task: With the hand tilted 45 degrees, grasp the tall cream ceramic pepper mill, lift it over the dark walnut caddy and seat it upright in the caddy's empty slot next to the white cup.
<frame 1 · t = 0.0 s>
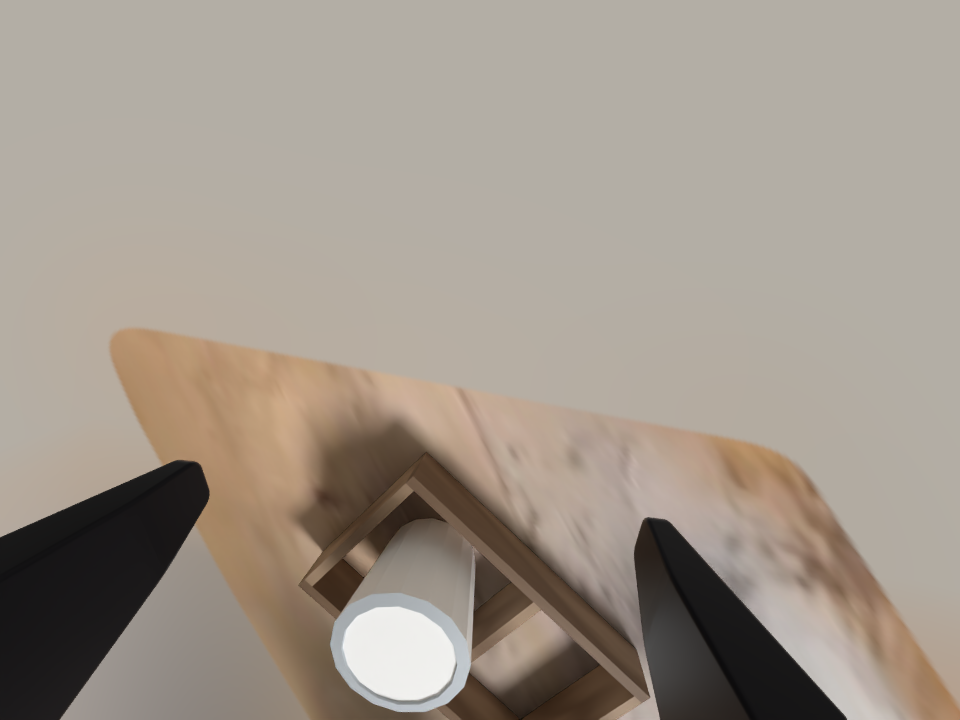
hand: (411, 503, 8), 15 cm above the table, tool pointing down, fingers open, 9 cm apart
white cup: (432, 556, 27), resting in walnut caddy
walnut caddy: (476, 600, 27), on the table
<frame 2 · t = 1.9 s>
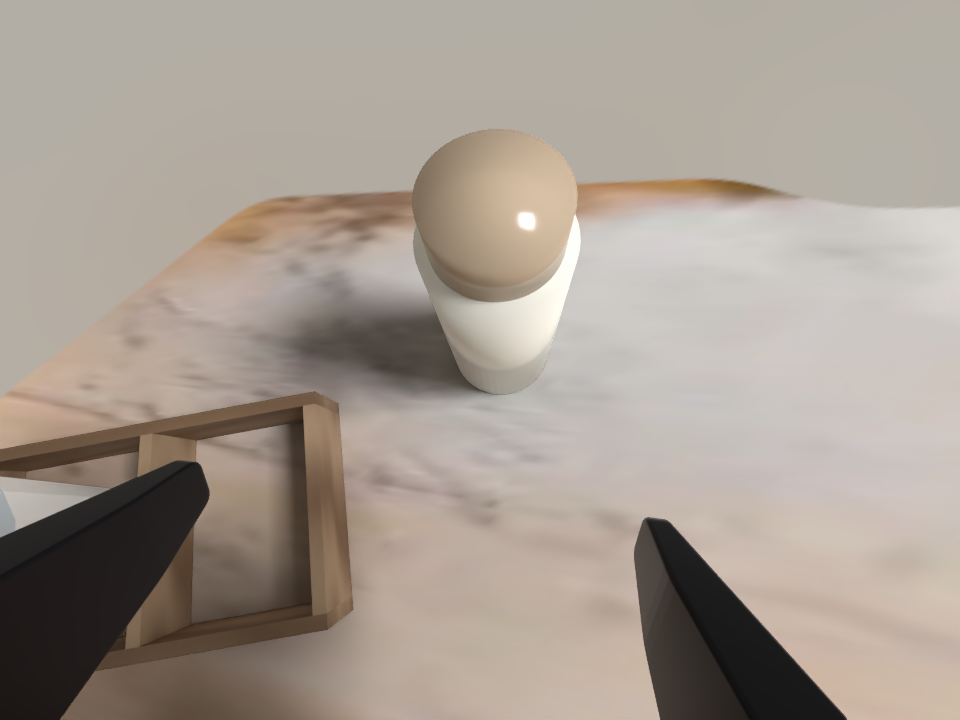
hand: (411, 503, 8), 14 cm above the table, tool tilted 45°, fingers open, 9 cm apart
white cup: (101, 543, 22), resting in walnut caddy
walnut caddy: (172, 530, 22), on the table
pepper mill: (501, 349, 24), on the table
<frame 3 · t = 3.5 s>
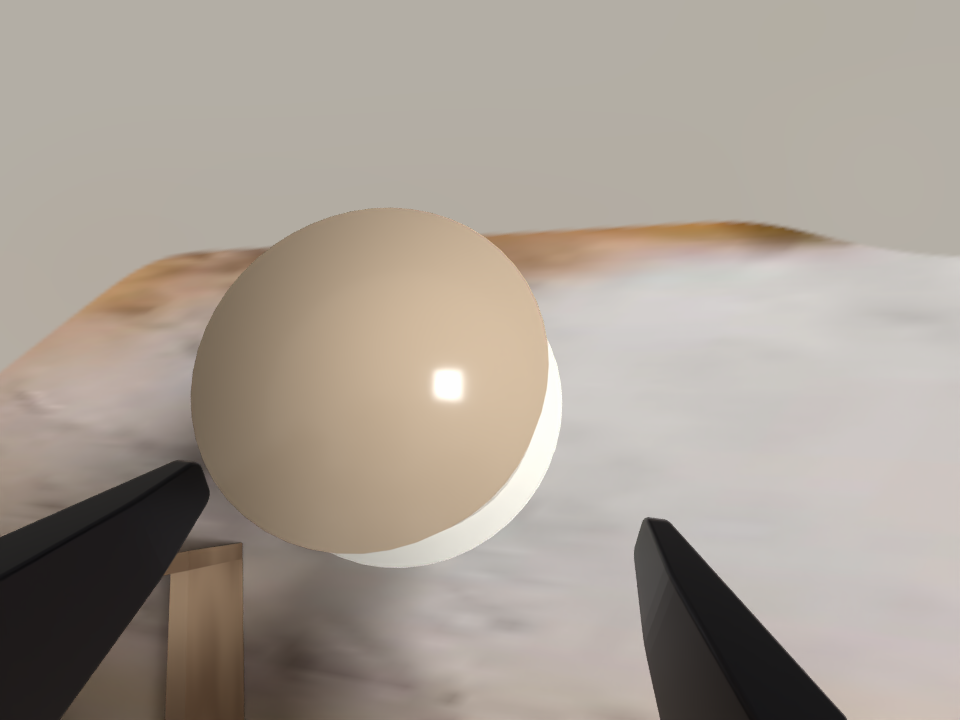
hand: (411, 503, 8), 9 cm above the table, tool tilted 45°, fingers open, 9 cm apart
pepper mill: (465, 459, 17), on the table
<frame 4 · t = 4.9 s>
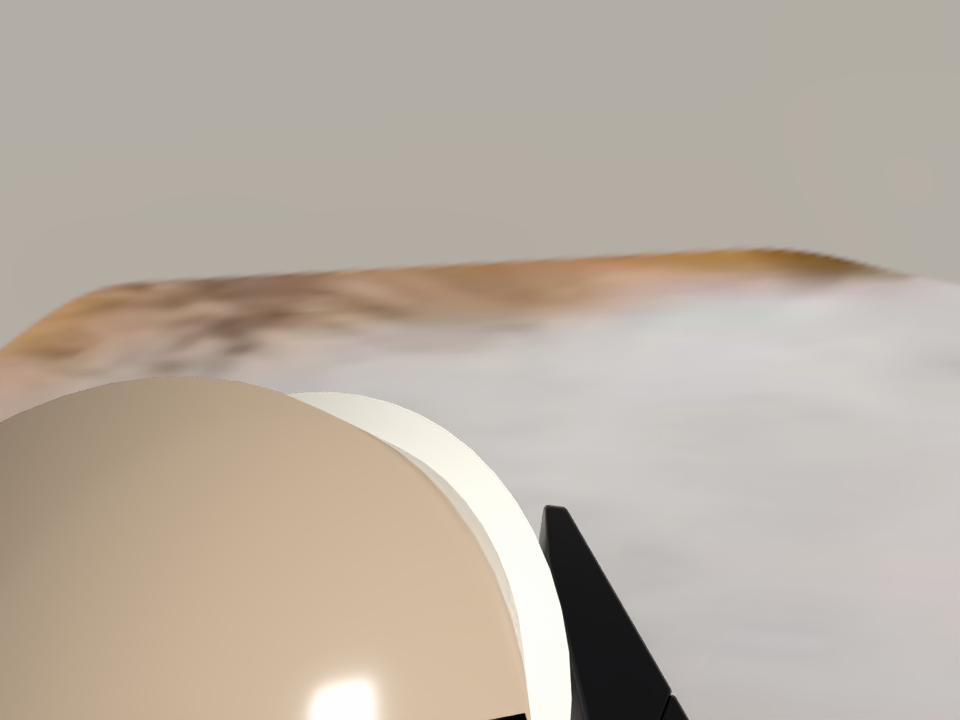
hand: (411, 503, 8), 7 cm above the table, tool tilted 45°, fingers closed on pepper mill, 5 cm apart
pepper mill: (446, 545, 14), on the table, touching gripper
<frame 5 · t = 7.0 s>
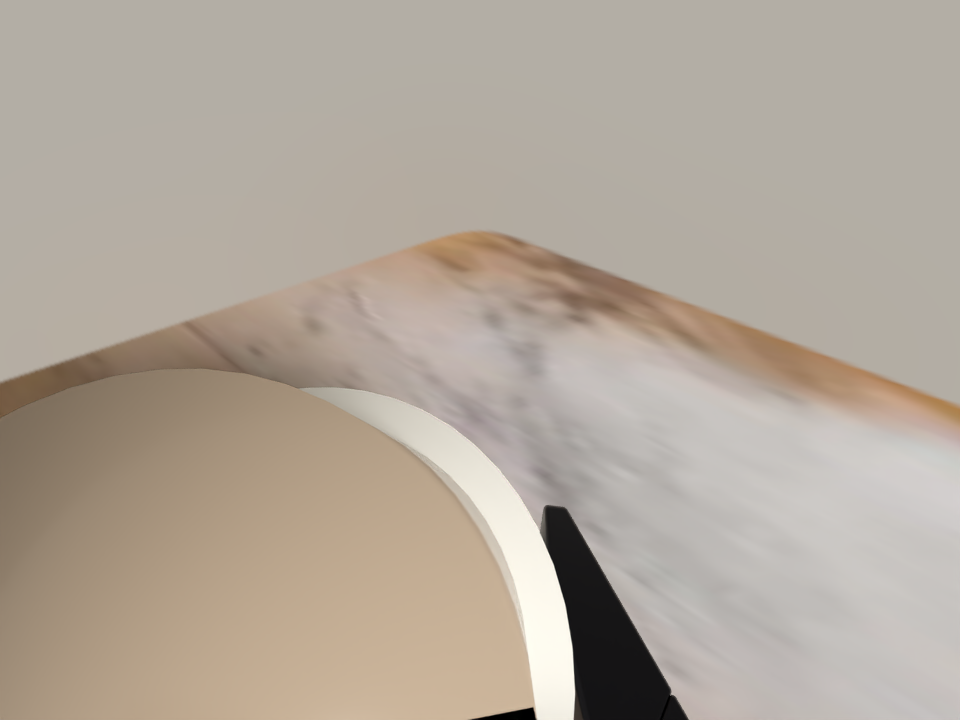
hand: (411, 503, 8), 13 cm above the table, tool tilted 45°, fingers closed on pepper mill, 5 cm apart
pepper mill: (447, 543, 14), point 6 cm above the table, touching gripper
when the fingers open (8 cm above the table, at t = 9.0 s): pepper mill drops 2 cm, resting in walnut caddy.
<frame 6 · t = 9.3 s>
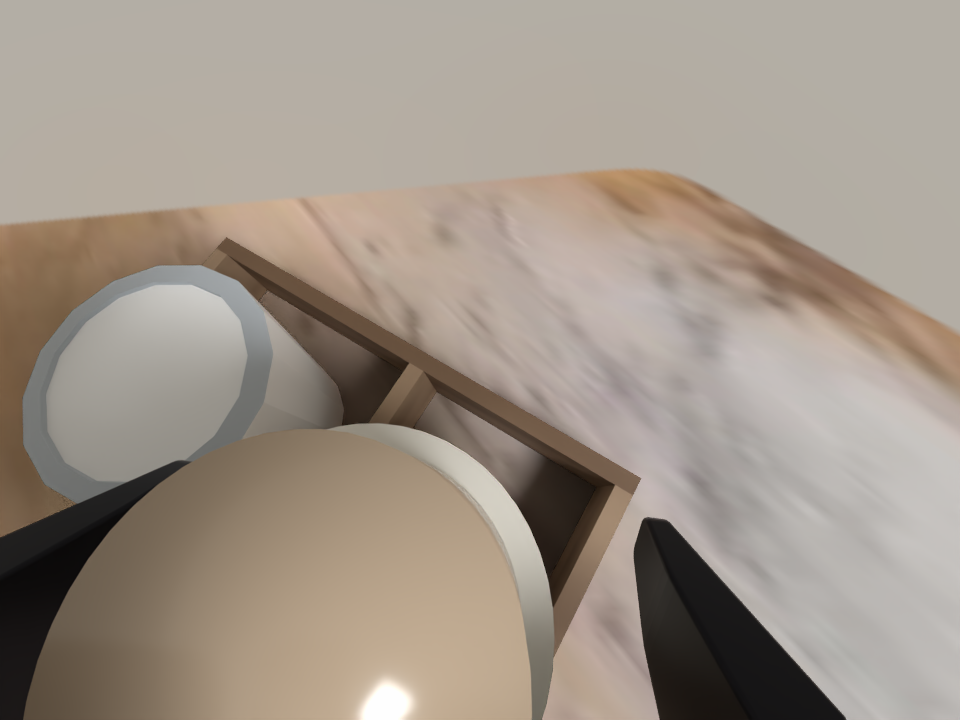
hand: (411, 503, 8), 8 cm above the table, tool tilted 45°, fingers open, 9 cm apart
white cup: (281, 421, 18), resting in walnut caddy
walnut caddy: (352, 471, 17), on the table
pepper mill: (452, 541, 16), resting in walnut caddy
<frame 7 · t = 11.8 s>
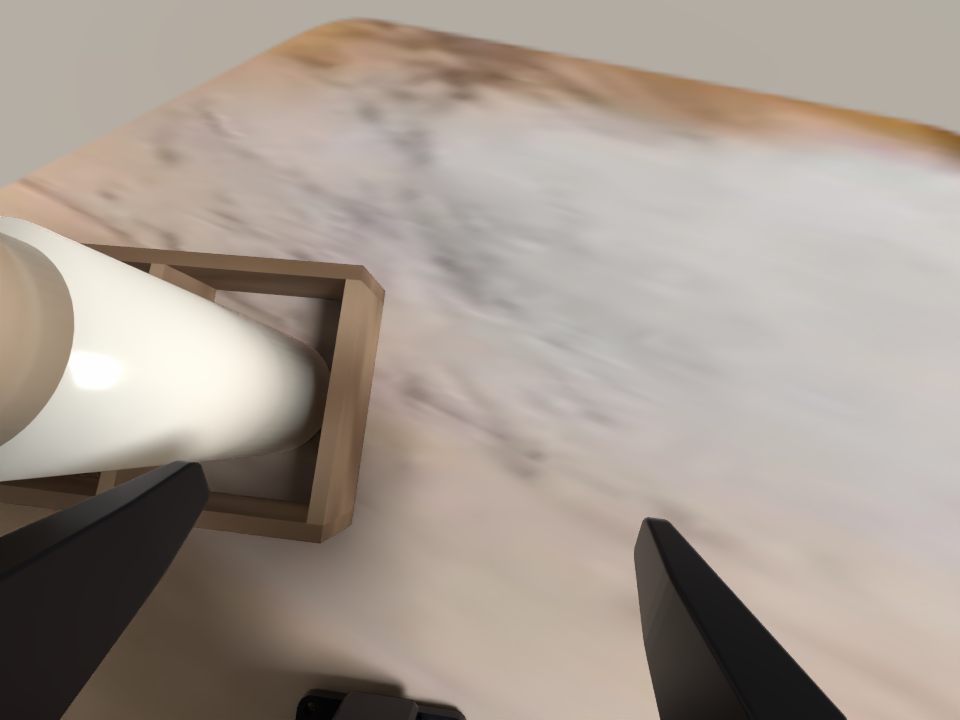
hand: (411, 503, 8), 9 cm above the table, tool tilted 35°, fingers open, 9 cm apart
walnut caddy: (173, 382, 19), on the table
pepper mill: (275, 394, 19), resting in walnut caddy
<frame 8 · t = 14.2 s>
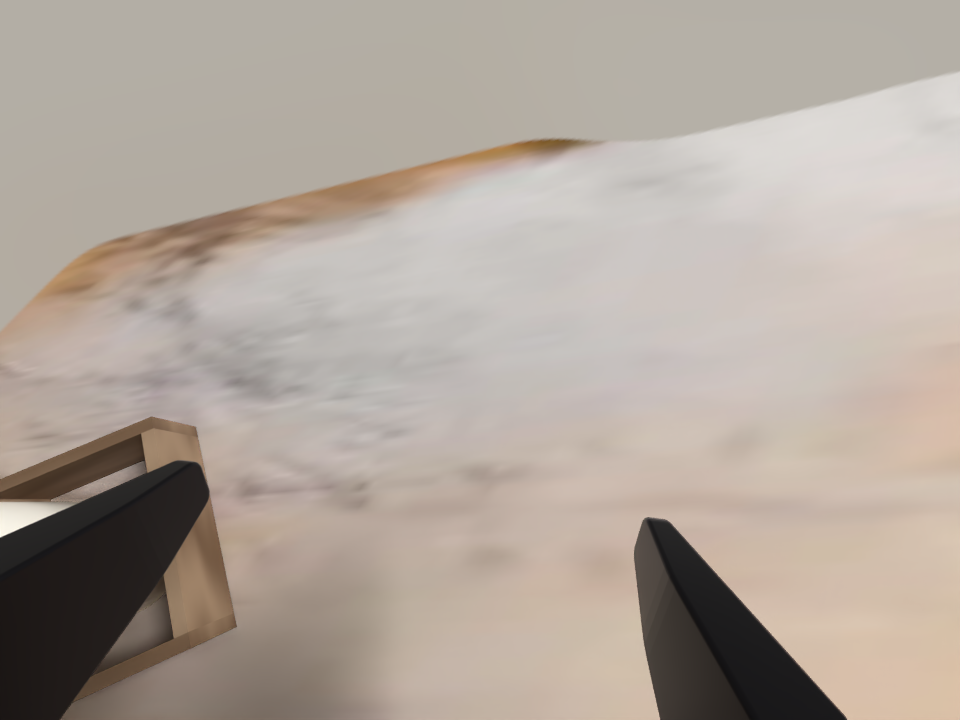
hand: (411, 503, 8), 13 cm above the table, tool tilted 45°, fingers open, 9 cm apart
walnut caddy: (35, 597, 21), on the table
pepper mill: (132, 556, 21), resting in walnut caddy
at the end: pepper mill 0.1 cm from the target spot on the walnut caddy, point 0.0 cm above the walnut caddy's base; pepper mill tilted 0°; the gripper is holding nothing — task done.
